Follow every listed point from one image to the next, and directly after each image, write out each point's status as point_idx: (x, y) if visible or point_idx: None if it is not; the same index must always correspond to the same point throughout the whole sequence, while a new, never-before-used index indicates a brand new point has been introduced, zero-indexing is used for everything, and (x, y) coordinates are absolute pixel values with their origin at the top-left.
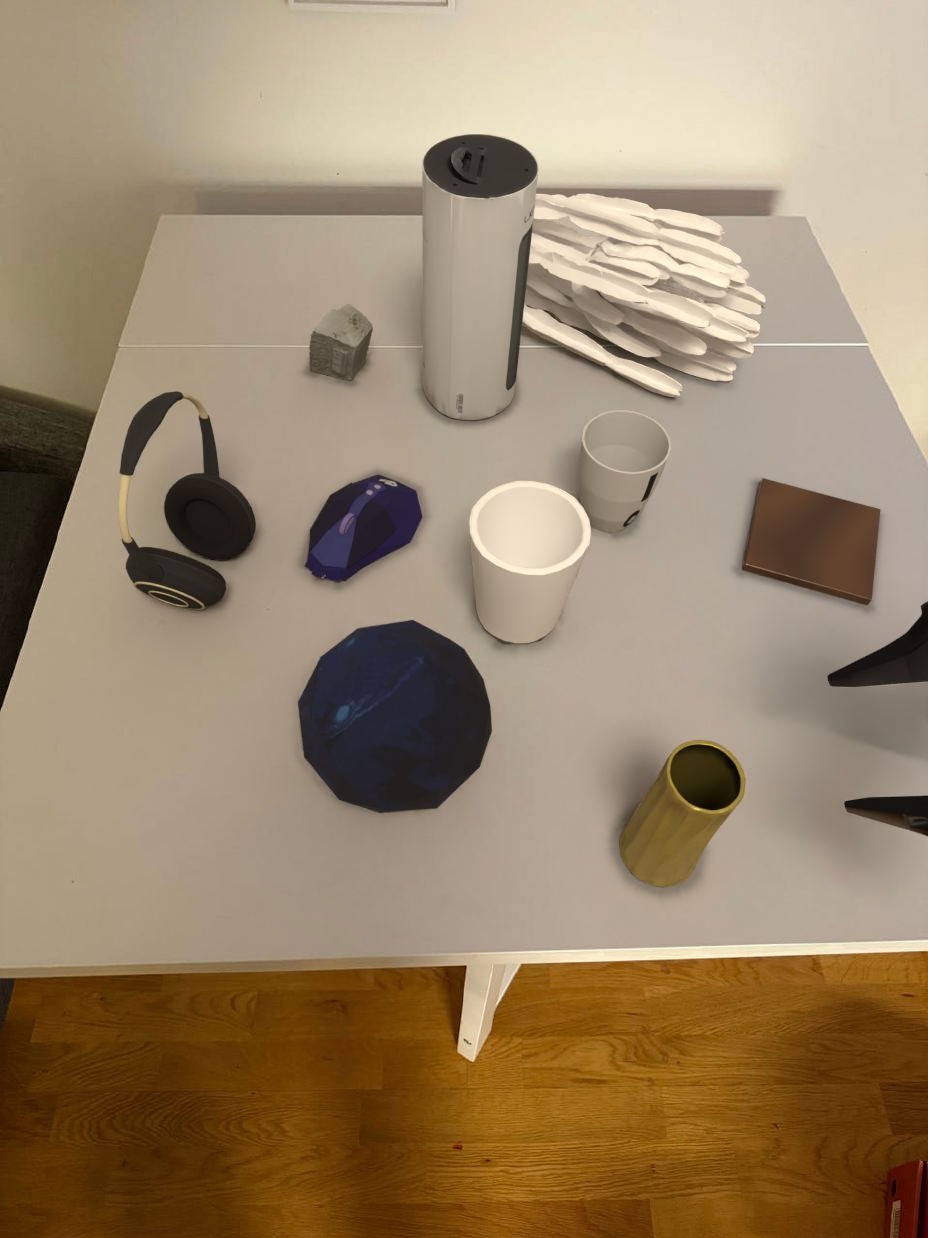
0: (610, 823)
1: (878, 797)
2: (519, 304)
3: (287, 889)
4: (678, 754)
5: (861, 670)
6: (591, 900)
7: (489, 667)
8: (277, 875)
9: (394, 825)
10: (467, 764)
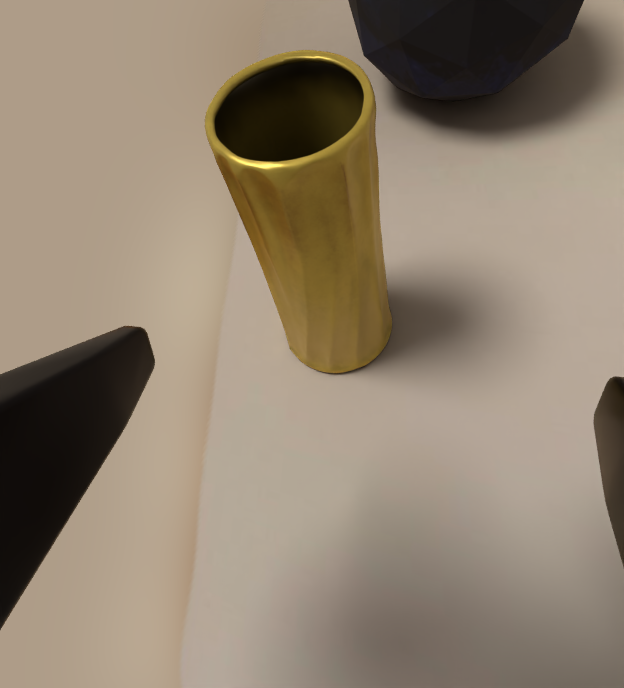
0: None
1: (72, 369)
2: None
3: (312, 29)
4: (356, 101)
5: None
6: None
7: (601, 141)
8: (325, 21)
9: (371, 84)
10: (391, 2)
